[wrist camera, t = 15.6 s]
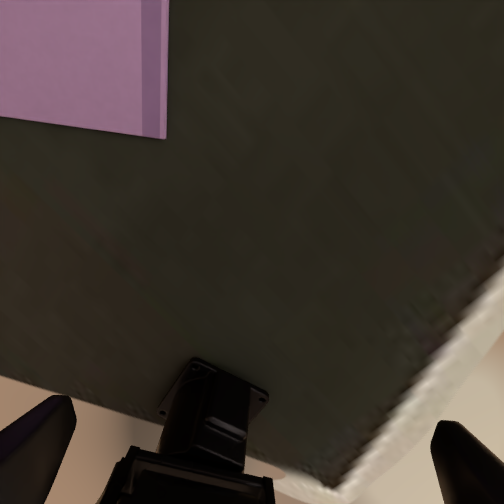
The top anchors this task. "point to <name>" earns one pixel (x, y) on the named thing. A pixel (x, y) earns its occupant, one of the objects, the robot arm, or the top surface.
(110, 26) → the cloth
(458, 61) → the top surface
